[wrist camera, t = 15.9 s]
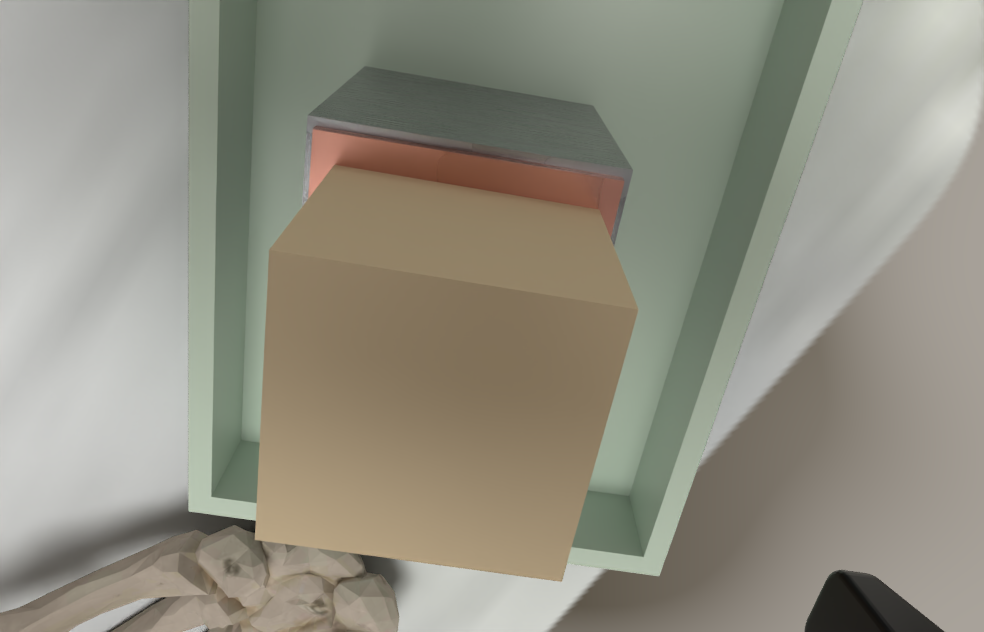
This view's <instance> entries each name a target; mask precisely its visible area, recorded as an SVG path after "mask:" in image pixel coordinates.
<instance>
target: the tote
mask: <svg viewBox="0 0 984 632" xmlns="http://www.w3.org/2000/svg"><path fill="white" fill-rule="evenodd" d="M862 3H863V0H189V221H188V511H189V512H196V513H204V514H211V515H218V516H225V517H233V518H240V519H247V520H254V521H256V505H257V485H258V465H259V444H260V424H261V404H262V383H263V363H264V343H265V322H266V302H267V282H268V261H269V249H270V248H271V247H272V245H273V244H274V243H275V241H276V240H277V239H278V238H279V236H280V235H281V234H282V232H283V231H284V230H285V228H286V227H287V226H288V225H289V223H290V222H291V221H292V219H293V218H294V217H295V215H296V214H297V213H298V212H299V210H300V209H301V208H302V196H303V179H304V163H305V147H306V130H307V115H308V114H309V113H311V112H312V111H313V110H314V109H315V108H316V107H318V106H319V105H320V104H321V103H322V102H323V101H325V100H326V99H327V98H328V97H329V96H330V95H332V94H333V93H334V92H335V91H336V90H337V89H339V88H340V87H341V86H342V85H343V84H345V83H346V82H347V81H348V80H349V79H350V78H352V77H353V76H354V75H355V74H356V73H357V72H359V71H360V70H361V69H362V68H363V67H364V66H368V67H374V68H379V69H385V70H391V71H397V72H402V73H408V74H414V75H420V76H426V77H431V78H437V79H443V80H449V81H454V82H460V83H466V84H472V85H477V86H483V87H489V88H495V89H501V90H506V91H512V92H518V93H524V94H529V95H535V96H541V97H547V98H552V99H558V100H564V101H570V102H576V103H581V104H587V105H593V106H594V108H595V109H596V111H597V112H598V114H599V116H600V117H601V119H602V121H603V122H604V124H605V125H606V127H607V129H608V130H609V132H610V133H611V135H612V137H613V138H614V140H615V141H616V143H617V145H618V146H619V148H620V150H621V151H622V153H623V154H624V156H625V158H626V159H627V161H628V162H629V164H630V166H631V167H632V169H633V173H632V177H631V181H630V185H629V189H628V193H627V197H626V201H625V205H624V209H623V213H622V217H621V221H620V225H619V229H618V233H617V237H616V241H615V245H614V248H615V251H616V253H617V256H618V258H619V261H620V263H621V266H622V268H623V271H624V274H625V276H626V279H627V281H628V284H629V286H630V289H631V291H632V294H633V296H634V299H635V301H636V304H637V307H638V309H639V310H638V314H637V317H636V321H635V324H634V328H633V331H632V335H631V338H630V342H629V345H628V349H627V353H626V356H625V360H624V363H623V367H622V370H621V374H620V377H619V381H618V384H617V388H616V391H615V395H614V399H613V402H612V406H611V409H610V413H609V416H608V420H607V423H606V427H605V430H604V434H603V437H602V441H601V445H600V448H599V452H598V455H597V459H596V462H595V466H594V469H593V473H592V476H591V480H590V483H589V487H588V491H587V494H586V498H585V501H584V505H583V508H582V512H581V515H580V519H579V522H578V526H577V529H576V533H575V536H574V540H573V544H572V547H571V551H570V554H569V558H568V561H567V564H574V565H581V566H588V567H596V568H603V569H610V570H617V571H625V572H632V573H639V574H647V575H654V576H659V575H660V572H661V570H662V567H663V564H664V561H665V558H666V556H667V553H668V550H669V547H670V544H671V541H672V538H673V536H674V533H675V530H676V527H677V525H678V522H679V519H680V516H681V513H682V510H683V508H684V505H685V502H686V499H687V496H688V493H689V491H690V488H691V485H692V482H693V479H694V477H695V474H696V471H697V468H698V465H699V463H700V460H701V457H702V454H703V451H704V448H705V446H706V443H707V440H708V437H709V434H710V432H711V429H712V426H713V423H714V420H715V417H716V415H717V412H718V409H719V406H720V403H721V401H722V398H723V395H724V392H725V389H726V386H727V384H728V381H729V378H730V375H731V372H732V369H733V367H734V364H735V361H736V358H737V355H738V353H739V350H740V347H741V344H742V341H743V338H744V336H745V333H746V330H747V327H748V324H749V322H750V319H751V316H752V313H753V310H754V307H755V305H756V302H757V299H758V296H759V293H760V291H761V288H762V285H763V282H764V279H765V276H766V274H767V271H768V268H769V265H770V262H771V260H772V257H773V254H774V251H775V248H776V245H777V243H778V240H779V237H780V234H781V231H782V229H783V226H784V223H785V220H786V217H787V214H788V212H789V209H790V206H791V203H792V200H793V198H794V195H795V192H796V189H797V186H798V183H799V181H800V178H801V175H802V172H803V169H804V167H805V164H806V161H807V158H808V155H809V152H810V150H811V147H812V144H813V141H814V138H815V135H816V133H817V130H818V127H819V124H820V121H821V119H822V116H823V113H824V110H825V107H826V104H827V102H828V99H829V96H830V93H831V90H832V88H833V85H834V82H835V79H836V76H837V73H838V71H839V68H840V65H841V62H842V59H843V57H844V54H845V51H846V48H847V45H848V42H849V40H850V37H851V34H852V31H853V28H854V26H855V23H856V20H857V17H858V14H859V11H860V9H861V6H862Z"/></svg>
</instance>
